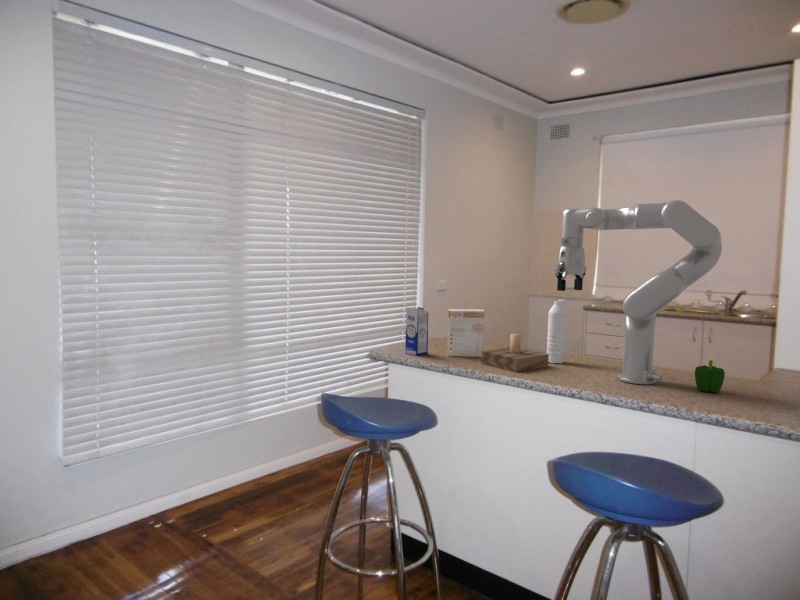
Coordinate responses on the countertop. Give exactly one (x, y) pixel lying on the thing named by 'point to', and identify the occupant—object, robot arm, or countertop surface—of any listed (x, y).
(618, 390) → the countertop surface
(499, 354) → the socket block
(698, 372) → the bell pepper
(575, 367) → the countertop surface
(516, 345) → the peg
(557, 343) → the water bottle
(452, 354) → the coffeecake box
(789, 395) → the countertop surface
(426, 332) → the milk carton
